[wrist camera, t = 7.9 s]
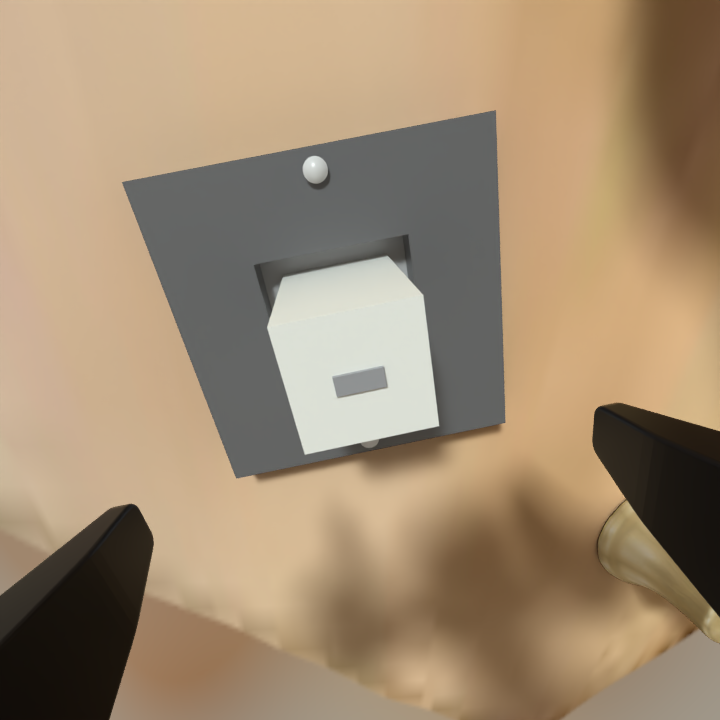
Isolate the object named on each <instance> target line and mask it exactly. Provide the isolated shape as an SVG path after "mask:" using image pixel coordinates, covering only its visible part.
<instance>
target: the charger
mask: <svg viewBox="0 0 720 720" xmlns="http://www.w3.org/2000/svg"><path fill="white" fill-rule="evenodd" d="M267 329H268V332H269V336H270V339H271V343H272V346H273V349H274V353H275V356H276V359H277V363H278V366H279V369H280V373H281V376H282V380H283V383H284V386H285V390H286V393H287V396H288V400H289V403H290V406H291V410H292V413H293V417H294V420H295V423H296V427H297V430H298V433H299V437H300V440H301V443H302V447H303V450H304V454H305V455H306V454H311V453H315V452H320V451H325V450H329V449H334V448H339V447H343V446H348V445H353V444H357V443H362V442H367V441H372V440H376V439H381V438H386V437H390V436H395V435H400V434H404V433H409V432H414V431H418V430H423V429H428V428H433V427H437V426H439V420H438V412H437V404H436V395H435V387H434V379H433V371H432V362H431V354H430V346H429V338H428V330H427V321H426V313H425V305H424V297H423V294H422V293H421V292H420V291H419V290H418V289H417V288H416V286H415V285H414V284H413V283H412V282H411V281H410V280H409V279H408V278H407V276H406V275H405V274H404V273H403V272H402V271H401V270H400V269H399V268H398V267H397V265H396V264H395V263H394V262H393V261H392V260H391V259H390V258H389V257H388V255H387V254H382V255H377V256H373V257H368V258H363V259H358V260H353V261H348V262H343V263H339V264H334V265H329V266H324V267H319V268H314V269H310V270H305V271H300V272H295V273H290V274H285V275H283V278H282V281H281V284H280V288H279V291H278V294H277V297H276V300H275V304H274V307H273V310H272V313H271V316H270V320H269V323H268V326H267Z"/></svg>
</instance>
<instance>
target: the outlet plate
mask: <svg viewBox="0 0 720 720" xmlns="http://www.w3.org/2000/svg"><path fill="white" fill-rule="evenodd" d="M122 183H123V186H124V189H125V191H126V194H127V196H128V199H129V201H130V204H131V207H132V209H133V212H134V214H135V217H136V220H137V222H138V225H139V227H140V230H141V233H142V235H143V238H144V240H145V243H146V246H147V248H148V251H149V253H150V256H151V259H152V261H153V264H154V266H155V269H156V272H157V274H158V277H159V279H160V282H161V284H162V287H163V290H164V292H165V295H166V297H167V300H168V303H169V305H170V308H171V310H172V313H173V316H174V318H175V321H176V323H177V326H178V329H179V331H180V334H181V336H182V339H183V342H184V344H185V347H186V349H187V352H188V355H189V357H190V360H191V362H192V365H193V367H194V370H195V373H196V375H197V378H198V380H199V383H200V386H201V388H202V391H203V393H204V396H205V399H206V401H207V404H208V406H209V409H210V412H211V414H212V417H213V419H214V422H215V425H216V427H217V430H218V432H219V435H220V438H221V440H222V443H223V445H224V448H225V450H226V453H227V456H228V458H229V461H230V463H231V466H232V469H233V471H234V474H235V476H236V478H241V477H246V476H251V475H256V474H260V473H265V472H270V471H275V470H280V469H285V468H289V467H294V466H299V465H304V464H309V463H314V462H318V461H323V460H328V459H333V458H338V457H343V456H347V455H352V454H357V453H362V452H367V451H372V450H376V449H381V448H386V447H391V446H396V445H401V444H405V443H410V442H415V441H420V440H425V439H430V438H434V437H439V436H444V435H449V434H454V433H459V432H463V431H468V430H473V429H478V428H483V427H488V426H492V425H497V424H502V423H505V394H504V362H503V330H502V297H501V265H500V232H499V200H498V168H497V135H496V110H495V111H490V112H485V113H480V114H474V115H469V116H464V117H459V118H454V119H448V120H443V121H438V122H433V123H428V124H422V125H417V126H412V127H407V128H402V129H396V130H391V131H386V132H381V133H376V134H370V135H365V136H360V137H355V138H350V139H344V140H339V141H334V142H329V143H324V144H318V145H313V146H308V147H303V148H298V149H292V150H287V151H282V152H277V153H272V154H266V155H261V156H256V157H251V158H246V159H240V160H235V161H230V162H225V163H219V164H214V165H209V166H204V167H199V168H193V169H188V170H183V171H178V172H173V173H167V174H162V175H157V176H152V177H147V178H141V179H136V180H131V181H126V182H122ZM382 254H387V255H388V257H389V258H390V259H391V260H392V261H393V262H394V263H395V264H396V265H397V267H398V268H399V269H400V270H401V271H402V272H403V273H404V274H405V275H406V276H407V278H408V279H409V280H410V281H411V282H412V283H413V284H414V285H415V286H416V288H417V289H418V290H419V291H420V292H421V293H422V294H423V297H424V305H425V313H426V321H427V330H428V338H429V346H430V354H431V362H432V371H433V379H434V387H435V395H436V404H437V412H438V420H439V426H437V427H433V428H428V429H423V430H418V431H414V432H409V433H404V434H400V435H395V436H390V437H386V438H381V439H376V440H372V441H367V442H362V443H357V444H353V445H348V446H343V447H339V448H334V449H329V450H325V451H320V452H315V453H311V454H306V455H305V454H304V450H303V447H302V443H301V440H300V437H299V433H298V430H297V427H296V423H295V420H294V417H293V413H292V410H291V406H290V403H289V400H288V396H287V393H286V390H285V386H284V383H283V380H282V376H281V373H280V369H279V366H278V363H277V359H276V356H275V353H274V349H273V346H272V343H271V339H270V336H269V332H268V329H267V326H268V323H269V320H270V316H271V313H272V310H273V307H274V304H275V300H276V297H277V294H278V291H279V288H280V284H281V281H282V278H283V275H285V274H290V273H295V272H300V271H305V270H310V269H314V268H319V267H324V266H329V265H334V264H339V263H343V262H348V261H353V260H358V259H363V258H368V257H373V256H377V255H382Z"/></svg>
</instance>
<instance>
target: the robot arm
mask: <svg viewBox="0 0 720 720" xmlns="http://www.w3.org/2000/svg"><path fill="white" fill-rule="evenodd" d="M592 442H593V447H594V450H595V453H596V454H597V456H598V457H599V459H600V460H601V462H602V463H603V465H604V466H605V468H606V469H607V471H608V472H609V474H610V475H611V477H612V478H613V480H614V482H615V483H616V485H617V486H618V488H619V489H620V491H621V492H622V494H623V495H624V497H625V498H626V500H627V501H628V503H629V504H630V506H631V507H632V509H633V510H634V512H635V513H636V514H637V516H638V517H639V519H640V520H641V521H642V523H643V524H644V525H645V526H646V528H647V529H648V530H649V532H650V533H651V534H652V535H653V537H654V538H655V539H656V540H657V541H658V543H659V544H660V545H661V546H662V548H663V549H664V550H665V551H666V553H667V554H668V555H669V556H670V557H671V559H672V560H673V561H674V562H675V564H676V565H677V566H678V567H679V568H680V570H681V571H682V572H683V573H684V575H685V576H686V577H687V578H688V580H689V581H690V582H691V583H692V584H693V586H694V587H695V588H696V589H697V591H698V592H699V593H700V594H701V595H702V597H703V598H704V599H705V600H706V602H707V603H708V604H709V605H710V606H711V608H712V609H713V610H714V611H715V613H716V614H717V615H718V616H719V618H720V431H717V430H713V429H710V428H706V427H703V426H700V425H696V424H693V423H689V422H686V421H682V420H679V419H675V418H672V417H668V416H665V415H661V414H658V413H654V412H651V411H647V410H644V409H640V408H637V407H633V406H630V405H626V404H623V403H613V404H608V405H603V406H599V407H598V408H597V409H596V410H595V414H594V425H593V439H592ZM153 546H154V541H153V535H152V532H151V531H150V529H149V527H148V525H147V523H146V521H145V519H144V517H143V515H142V514H141V512H140V510H139V508H138V507H137V506H136V505H134V504H127V505H122V506H117V507H113V508H110V509H109V510H107V511H106V512H105V513H104V514H102V515H101V516H100V517H99V518H97V519H96V520H95V521H93V522H92V523H91V524H90V525H88V526H87V527H86V528H85V529H83V530H82V531H81V532H80V533H78V534H77V535H76V536H75V537H73V538H72V539H71V540H70V541H68V542H67V543H66V544H65V545H63V546H62V547H61V548H60V549H58V550H57V551H56V552H54V553H53V554H52V555H51V556H49V557H48V558H47V559H46V560H44V561H43V562H42V563H41V564H39V565H38V566H37V567H36V568H34V569H33V570H32V571H31V572H29V573H28V574H27V575H26V576H25V577H23V578H22V579H21V580H19V581H18V582H17V583H15V584H14V585H13V586H12V587H11V588H9V589H8V590H7V591H6V592H4V593H3V594H2V595H1V596H0V720H109V719H110V716H111V712H112V709H113V705H114V702H115V699H116V696H117V693H118V689H119V686H120V683H121V679H122V676H123V673H124V670H125V666H126V663H127V660H128V656H129V653H130V650H131V646H132V643H133V640H134V636H135V633H136V629H137V625H138V620H139V616H140V611H141V606H142V601H143V596H144V591H145V586H146V581H147V576H148V571H149V566H150V562H151V557H152V552H153Z"/></svg>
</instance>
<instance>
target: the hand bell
mask: <svg viewBox="0 0 720 720" xmlns="http://www.w3.org/2000/svg"><path fill="white" fill-rule="evenodd" d="M598 555H599V560H600V562H601V564H602V565H603V567H604V568H605V569H606V570H607V572H609V573H610V574H611V575H613V576H614V577H616V578H618V579H620V580H622V581H624V582H627V583H630V584H634V585H640V586H644V587H646V588H648V589H650V590H652V591H654V592H656V593H658V594H659V595H661V596H662V597H663V598H665V599H666V600H667V601H669V602H670V603H671V604H672V605H674V606H675V607H676V608H677V609H679V610H680V611H681V612H682V613H683V614H684V615H685V616H686V617H687V618H689V619H690V620H691V621H692V622H693V623H694V624H695V625H696V626H697V627H698V628H699V629H700V630H701V631H702V632H703V633H704V634H705V635H706V636H707V637H708V638H710V639H711V640H713V641H715V642H717V643H720V618H719V616H718V615H717V614H716V613H715V611H714V610H713V609H712V608H711V606H710V605H709V604H708V603H707V602H706V600H705V599H704V598H703V597H702V595H701V594H700V593H699V592H698V591H697V589H696V588H695V587H694V586H693V584H692V583H691V582H690V581H689V580H688V578H687V577H686V576H685V575H684V573H683V572H682V571H681V570H680V568H679V567H678V566H677V565H676V564H675V562H674V561H673V560H672V559H671V557H670V556H669V555H668V554H667V553H666V551H665V550H664V549H663V548H662V546H661V545H660V544H659V543H658V541H657V540H656V539H655V538H654V537H653V535H652V534H651V533H650V532H649V530H648V529H647V528H646V526H645V525H644V524H643V523H642V521H641V520H640V519H639V517H638V516H637V514H636V513H635V512H634V510H633V509H632V507H631V506H630V504H629V503H628V501H627V500H626V501H625V502H624V503H622V504H621V505H620V506H619V508H618V509H617V510H616V511H615V512H614V513H613V515H612V516H610V517H609V519H608V521H607V522H606V524H605V525H604V527H603V530H602V532H601V534H600V537H599V540H598Z"/></svg>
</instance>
